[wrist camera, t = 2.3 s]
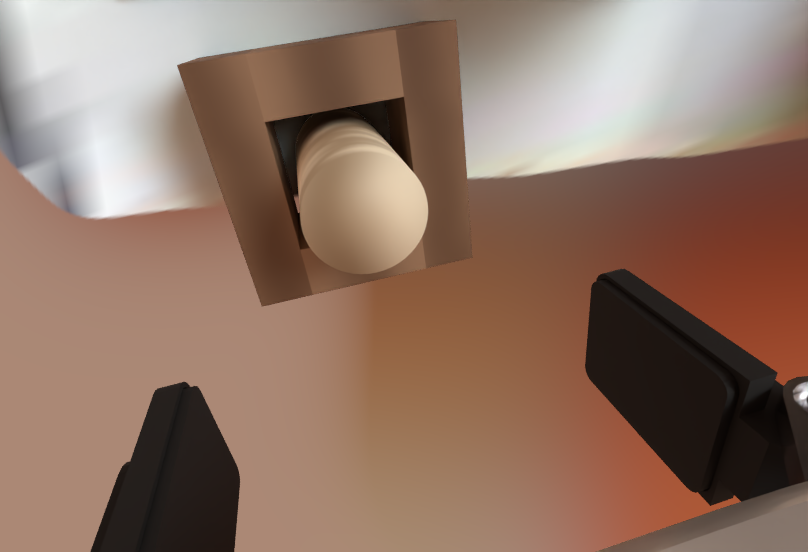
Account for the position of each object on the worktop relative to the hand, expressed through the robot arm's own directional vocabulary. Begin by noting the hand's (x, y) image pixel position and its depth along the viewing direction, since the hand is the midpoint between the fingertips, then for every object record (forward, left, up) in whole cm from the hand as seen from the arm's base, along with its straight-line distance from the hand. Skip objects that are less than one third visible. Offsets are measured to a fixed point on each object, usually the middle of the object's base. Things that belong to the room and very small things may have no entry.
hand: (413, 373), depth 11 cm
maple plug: (0, 0, -22) cm, 22 cm away
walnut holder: (0, 0, -22) cm, 22 cm away
